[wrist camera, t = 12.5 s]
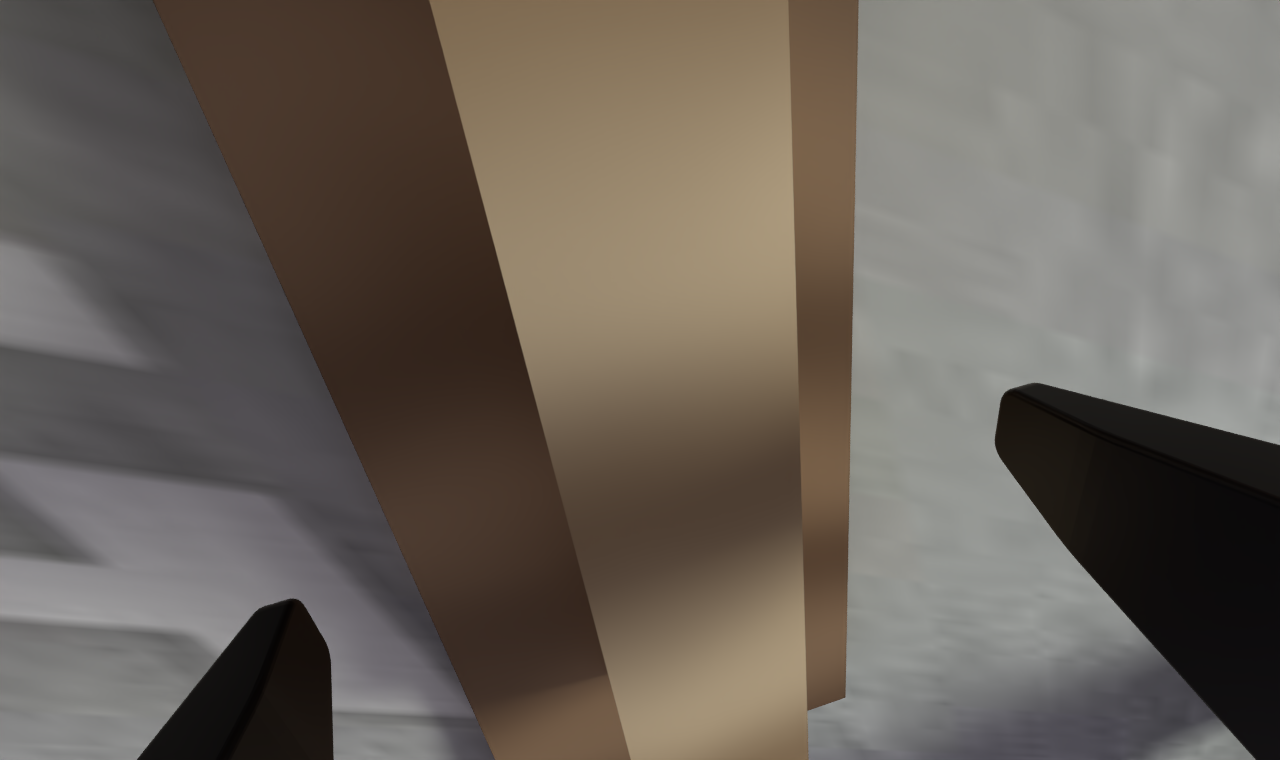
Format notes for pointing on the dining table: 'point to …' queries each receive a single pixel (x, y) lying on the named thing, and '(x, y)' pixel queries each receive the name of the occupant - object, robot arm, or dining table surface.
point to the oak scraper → (657, 337)
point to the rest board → (492, 332)
